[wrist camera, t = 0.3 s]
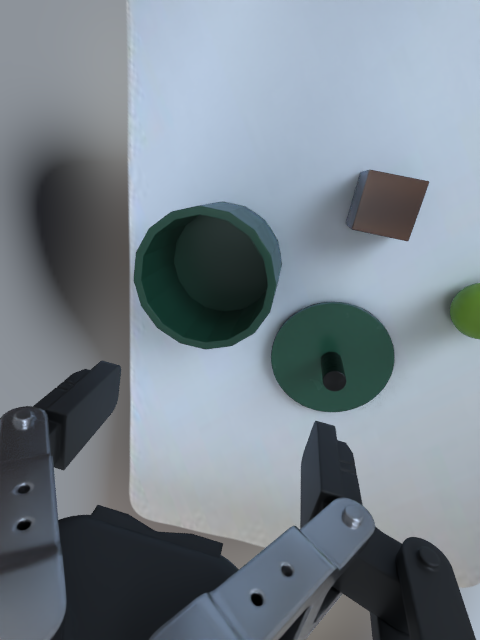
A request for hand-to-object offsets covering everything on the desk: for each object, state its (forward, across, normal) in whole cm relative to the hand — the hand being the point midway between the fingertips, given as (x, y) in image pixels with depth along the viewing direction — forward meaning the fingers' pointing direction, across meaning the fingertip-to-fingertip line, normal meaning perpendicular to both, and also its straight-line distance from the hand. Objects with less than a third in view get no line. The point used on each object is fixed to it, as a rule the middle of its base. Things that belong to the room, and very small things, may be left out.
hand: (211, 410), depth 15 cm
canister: (+27, +5, +1) cm, 28 cm away
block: (+27, -9, -9) cm, 30 cm away
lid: (+27, -9, +8) cm, 29 cm away
